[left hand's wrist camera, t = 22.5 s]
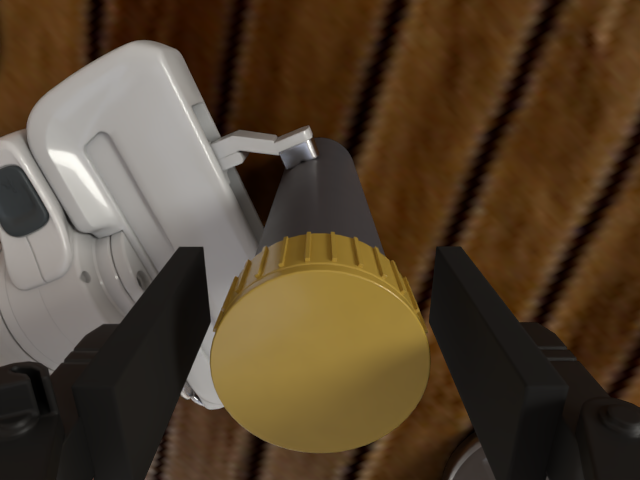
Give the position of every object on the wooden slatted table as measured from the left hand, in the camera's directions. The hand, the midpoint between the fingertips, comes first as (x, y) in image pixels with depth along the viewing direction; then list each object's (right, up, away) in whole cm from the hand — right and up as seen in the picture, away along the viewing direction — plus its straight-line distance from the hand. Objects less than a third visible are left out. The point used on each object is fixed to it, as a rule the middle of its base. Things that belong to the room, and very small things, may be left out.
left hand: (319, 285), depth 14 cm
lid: (0, -1, -4) cm, 4 cm away
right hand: (+1, +4, +9) cm, 10 cm away
